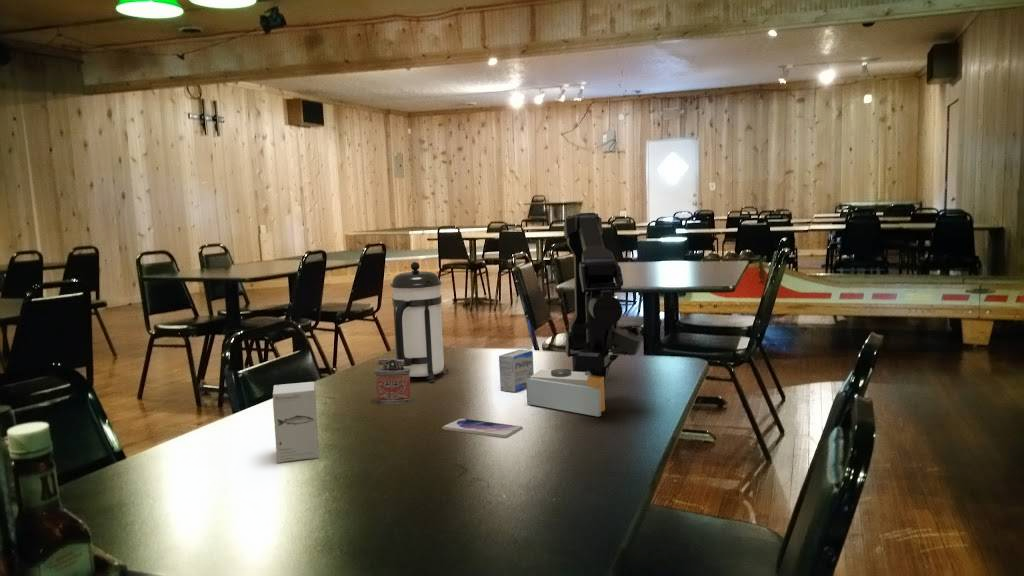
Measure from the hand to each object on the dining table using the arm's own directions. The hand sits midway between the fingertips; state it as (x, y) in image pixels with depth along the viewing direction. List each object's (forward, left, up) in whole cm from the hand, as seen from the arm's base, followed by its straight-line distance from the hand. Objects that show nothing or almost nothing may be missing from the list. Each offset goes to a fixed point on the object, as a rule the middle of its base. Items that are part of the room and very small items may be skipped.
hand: (602, 390), depth 151 cm
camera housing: (-5, -10, -4) cm, 11 cm away
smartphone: (+18, -20, -5) cm, 27 cm away
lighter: (+5, -48, -4) cm, 48 cm away
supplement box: (+41, -46, -4) cm, 61 cm away
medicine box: (-13, -25, -5) cm, 28 cm away
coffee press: (-16, -53, -4) cm, 55 cm away
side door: (+1, -8, -4) cm, 9 cm away
